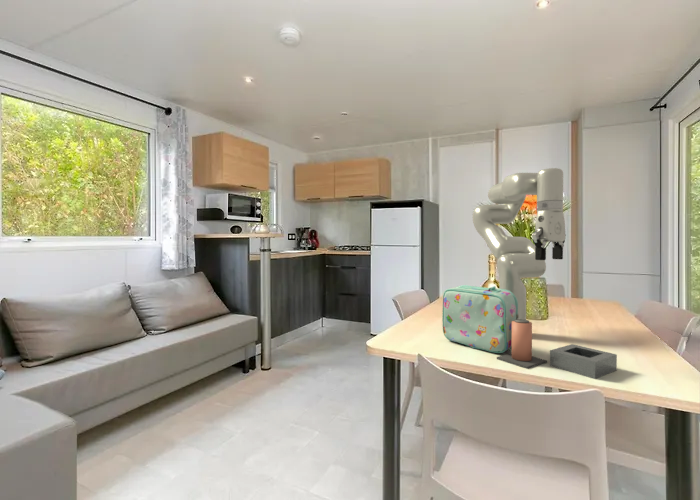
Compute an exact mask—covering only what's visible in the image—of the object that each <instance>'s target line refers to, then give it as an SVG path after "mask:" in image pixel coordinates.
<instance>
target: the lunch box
mask: <svg viewBox="0 0 700 500" xmlns="http://www.w3.org/2000/svg"><path fill="white" fill-rule="evenodd" d="M496 287H497V286H492V287H482V286H476V285H475V286H473V285H466V284H465V285H464V284H461V285H459V286H458V285H457V287H451V288H450V287H449V288H447V289H445V290H444V292H443V296H442V315H441V316H442V332H443V335H444V337H445V338H446V339H447V340H449V341H451V342H455V343H459V344H461V345H465V346H467V347H470V348H471V349H477V350H483V351H487V352H489V353H496V354H503V353H505V352H507V351H508V350H512V321H515V319H520V318H518V316H519V315H518V301H517V298H516V296H515V295H514V294H513V293H512V292H510V291H508V290H505V289H500V288H496Z"/></svg>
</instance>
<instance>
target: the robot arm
mask: <svg viewBox="0 0 700 500" xmlns="http://www.w3.org/2000/svg"><path fill="white" fill-rule="evenodd" d="M563 171H564V170H562V169H561V168H559V167H558V168H557V167H550V168H544V169H541V170H539V171H538V172H516V173H513V174H510V175H507V176H505V177H504V178H503V181H502V182H499V183H496V184H495V185H492V186H491V187H490V188H489V190H488V192H487V196H488V199H489V201H490V202H492V203H494V204H482V205H479V206H476V208H474V209H473V212H472V223H473V226H474V229H475V230H476V232H477V233H478V234H479V235H480V236H481V238H482V239H483V240H484V242H485V243H486V244H487V246H488V249H489V250H490V251H491V254H492V255H493V256H494V257H495V259H497V261H496V268H497V274H498V280H499V289H505V290H508V291H510V292H512V293H513V294H514V295H515V296H516V298H517V301H518V315H519V316H518V318H520V319H522V320H527V288H526V286H525V284H524V283H523V281H522V279H523V278H526V279H527V278H531V279H532V278H539V277H541V276H543V275H544V274H545V273H546V270H547V263H546V260H547V248H546V245H547V242H548V243H550V242H551V244H552V248H551V249H552V254H551V256H552V257H551V258H552V260H563V259H564V255H563V254H564V246H565V245H564V243H566V236H567V234H566V224H565V223H566V222H565V215H564V172H563ZM529 195H531V196H536V217H535V226H534V227H535V228H534V232H532V234H531V236H532V240H531V239H529V238H527V237H525V236H511V235H510V236H509V235H507V234H506V232H505V231H504V230H503V229H502V228H501V227H500V226H498V225H499V224H500V225H501V224H502V225H507V224H511V223H513V222H514V220H515V219H516V218H517V215H518V213H519V212H520V210H521V208H522V206H523V205H524V203H525V200H526V197H527V196H529ZM497 224H498V225H497Z"/></svg>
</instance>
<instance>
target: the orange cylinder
mask: <svg viewBox="0 0 700 500" xmlns="http://www.w3.org/2000/svg"><path fill="white" fill-rule="evenodd" d="M511 353H512V358H513V359H515V360H520V361H531V360H532V356H533V323H532V321H529V320H527V319H526V320H522V319H515V321H512V349H511Z"/></svg>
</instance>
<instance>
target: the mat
mask: <svg viewBox="0 0 700 500" xmlns="http://www.w3.org/2000/svg"><path fill="white" fill-rule="evenodd" d="M496 360H499V361H502V362H505V363H508V364H511V365H515V366H518V367H521V368H524V369H531V368H533V367H537V366H540V365H543V364H546V363H548V360H546V359H543V358H540V357H536V356H533V355H532V360H531V361H520V360H515V359H513V358H512V352H510V353H506V354H502V355H500V356H496Z"/></svg>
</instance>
